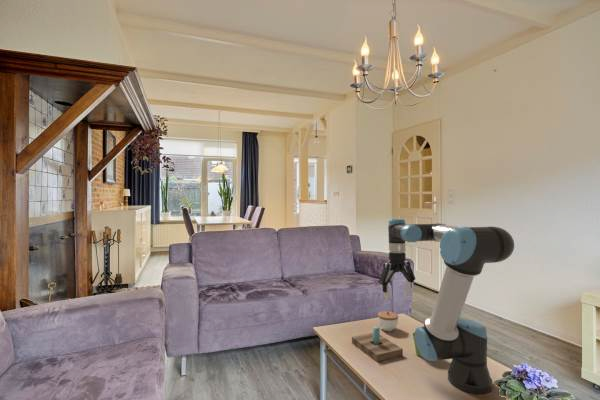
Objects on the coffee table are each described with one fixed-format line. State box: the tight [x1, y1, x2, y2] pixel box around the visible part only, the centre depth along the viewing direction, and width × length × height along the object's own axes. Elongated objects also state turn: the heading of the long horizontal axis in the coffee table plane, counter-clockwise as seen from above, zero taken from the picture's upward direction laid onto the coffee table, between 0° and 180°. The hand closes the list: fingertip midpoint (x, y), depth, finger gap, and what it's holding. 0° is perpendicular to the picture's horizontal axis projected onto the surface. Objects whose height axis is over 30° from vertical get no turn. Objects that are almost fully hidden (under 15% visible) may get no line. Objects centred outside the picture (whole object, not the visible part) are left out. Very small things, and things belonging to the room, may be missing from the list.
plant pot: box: [411, 331, 423, 358], centre depth 147 cm, size 9×9×9 cm
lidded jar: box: [377, 310, 399, 332], centre depth 176 cm, size 11×11×9 cm
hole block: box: [351, 332, 404, 363], centre depth 152 cm, size 20×14×3 cm
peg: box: [372, 326, 381, 345], centre depth 152 cm, size 3×3×10 cm
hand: (397, 297), depth 153 cm, fingers open, 13 cm apart
